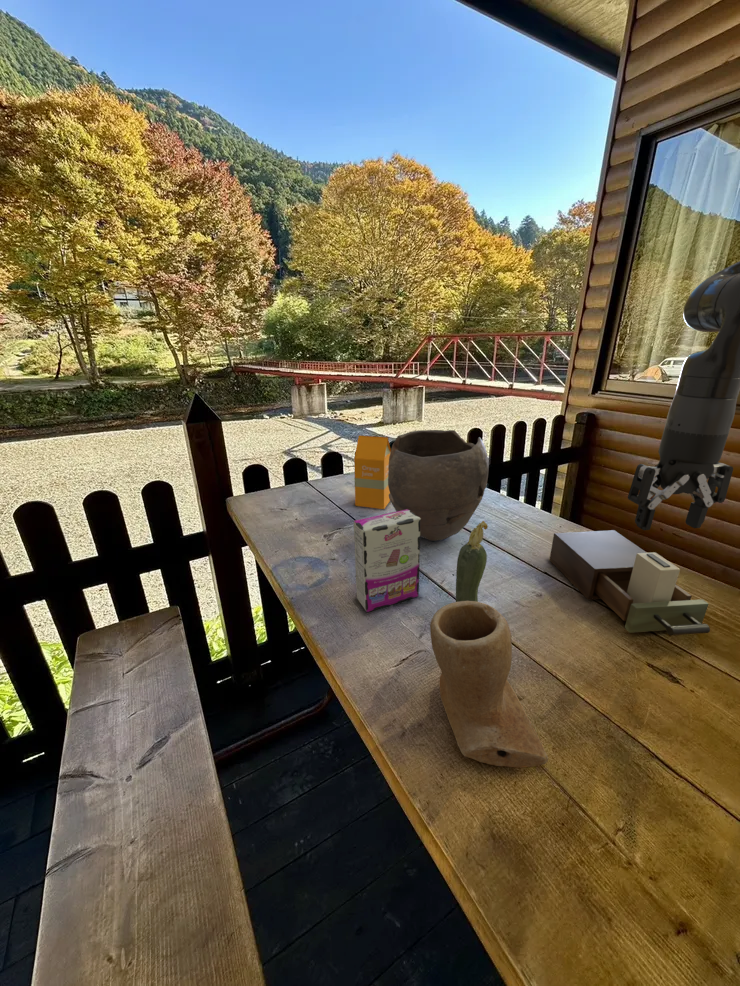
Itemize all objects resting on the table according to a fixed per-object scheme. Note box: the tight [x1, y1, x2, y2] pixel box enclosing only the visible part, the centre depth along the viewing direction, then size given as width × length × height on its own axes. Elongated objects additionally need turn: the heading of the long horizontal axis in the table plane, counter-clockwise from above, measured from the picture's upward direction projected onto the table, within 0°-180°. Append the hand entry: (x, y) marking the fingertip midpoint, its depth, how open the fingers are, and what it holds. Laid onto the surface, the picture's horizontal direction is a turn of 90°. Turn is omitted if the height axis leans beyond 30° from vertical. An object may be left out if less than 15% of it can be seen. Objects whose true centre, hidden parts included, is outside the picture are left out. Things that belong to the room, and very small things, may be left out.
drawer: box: [594, 571, 711, 636], centre depth 70 cm, size 18×12×5 cm
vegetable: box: [455, 520, 489, 602], centre depth 65 cm, size 4×4×20 cm
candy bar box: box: [353, 509, 421, 613], centre depth 74 cm, size 11×5×16 cm, turn 115°
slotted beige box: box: [627, 551, 681, 604], centre depth 69 cm, size 3×6×9 cm, turn 5°
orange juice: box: [353, 434, 391, 510], centre depth 117 cm, size 8×9×20 cm
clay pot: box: [388, 429, 490, 542], centre depth 96 cm, size 24×24×25 cm
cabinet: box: [549, 529, 648, 601], centre depth 82 cm, size 15×14×7 cm
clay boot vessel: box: [429, 601, 549, 769], centre depth 50 cm, size 15×12×15 cm
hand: (667, 527), depth 66 cm, fingers open, 8 cm apart
